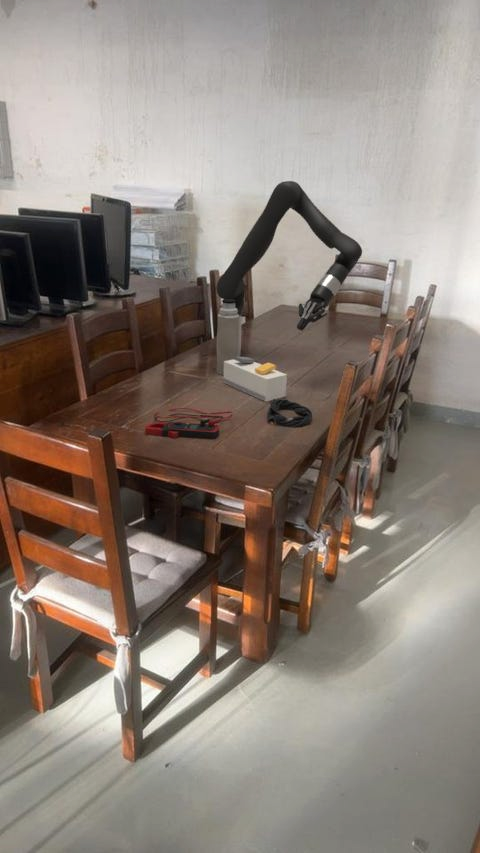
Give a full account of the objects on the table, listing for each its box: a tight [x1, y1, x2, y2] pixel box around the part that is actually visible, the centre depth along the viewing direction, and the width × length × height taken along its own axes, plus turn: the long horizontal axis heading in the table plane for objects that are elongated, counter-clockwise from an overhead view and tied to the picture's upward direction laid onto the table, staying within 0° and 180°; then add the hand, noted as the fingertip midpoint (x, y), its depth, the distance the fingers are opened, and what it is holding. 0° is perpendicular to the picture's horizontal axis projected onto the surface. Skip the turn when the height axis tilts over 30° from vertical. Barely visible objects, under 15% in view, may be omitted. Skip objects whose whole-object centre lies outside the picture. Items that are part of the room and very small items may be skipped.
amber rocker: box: [255, 362, 277, 375], centre depth 203 cm, size 4×6×2 cm, turn 128°
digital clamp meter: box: [144, 407, 234, 440], centre depth 180 cm, size 23×4×25 cm
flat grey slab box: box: [234, 356, 255, 364], centre depth 211 cm, size 4×6×2 cm, turn 128°
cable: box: [266, 398, 313, 428], centre depth 187 cm, size 17×14×4 cm
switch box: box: [222, 359, 288, 402], centre depth 209 cm, size 24×9×8 cm, turn 38°
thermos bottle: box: [216, 299, 239, 376], centre depth 222 cm, size 8×8×28 cm
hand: (299, 329), depth 208 cm, fingers closed
